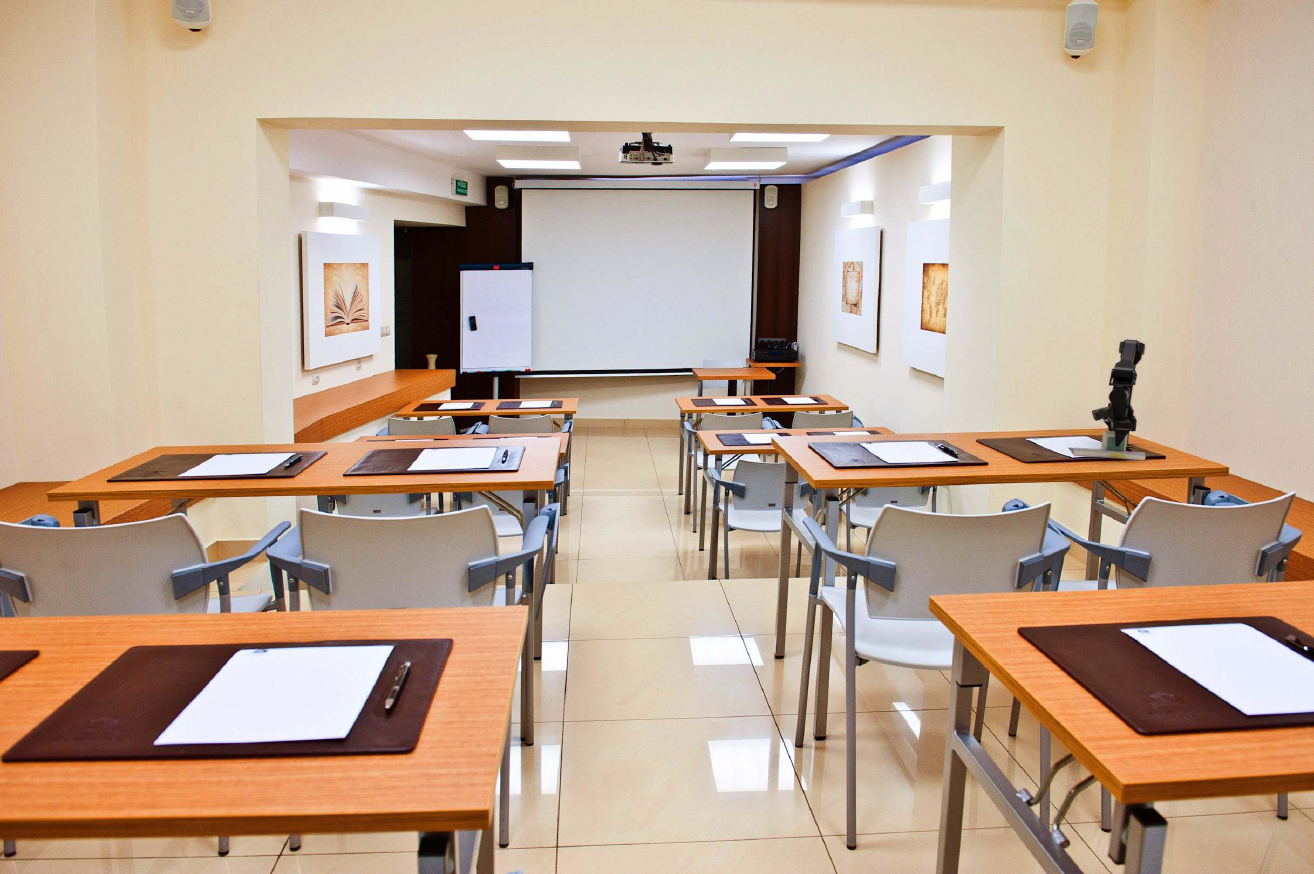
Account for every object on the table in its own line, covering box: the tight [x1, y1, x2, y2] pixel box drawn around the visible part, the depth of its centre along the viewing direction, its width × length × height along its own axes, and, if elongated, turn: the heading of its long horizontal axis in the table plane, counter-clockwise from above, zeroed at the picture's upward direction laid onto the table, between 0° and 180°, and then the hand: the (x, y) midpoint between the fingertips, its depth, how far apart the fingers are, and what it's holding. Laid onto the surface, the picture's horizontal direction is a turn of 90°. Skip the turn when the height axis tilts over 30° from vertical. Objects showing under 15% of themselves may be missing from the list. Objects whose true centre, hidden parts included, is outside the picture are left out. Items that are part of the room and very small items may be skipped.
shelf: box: [1068, 447, 1146, 461], centre depth 329 cm, size 13×23×3 cm, turn 75°
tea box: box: [1100, 430, 1128, 451], centre depth 328 cm, size 5×7×8 cm
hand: (1114, 443), depth 328 cm, fingers open, 9 cm apart
